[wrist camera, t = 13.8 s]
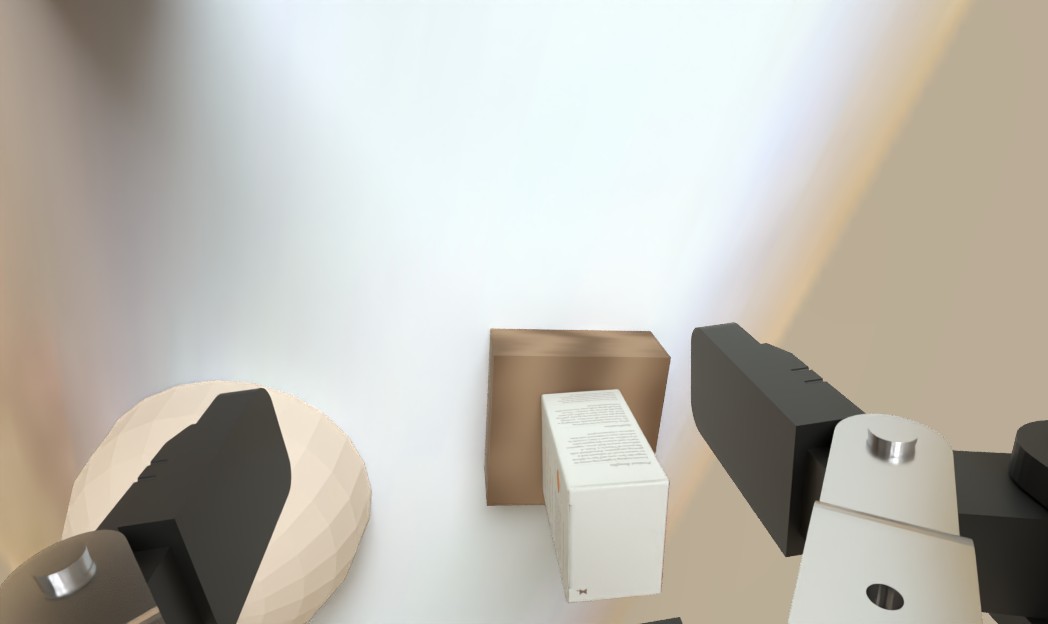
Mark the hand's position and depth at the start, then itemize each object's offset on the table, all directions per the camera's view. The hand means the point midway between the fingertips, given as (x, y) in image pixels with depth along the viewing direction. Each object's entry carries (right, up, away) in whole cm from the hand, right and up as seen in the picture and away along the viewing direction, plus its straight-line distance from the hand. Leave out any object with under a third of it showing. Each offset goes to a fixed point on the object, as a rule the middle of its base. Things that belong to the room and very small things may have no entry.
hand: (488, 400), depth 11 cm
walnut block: (+4, -5, +35) cm, 36 cm away
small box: (+5, -7, +31) cm, 32 cm away
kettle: (-21, -12, +35) cm, 43 cm away
